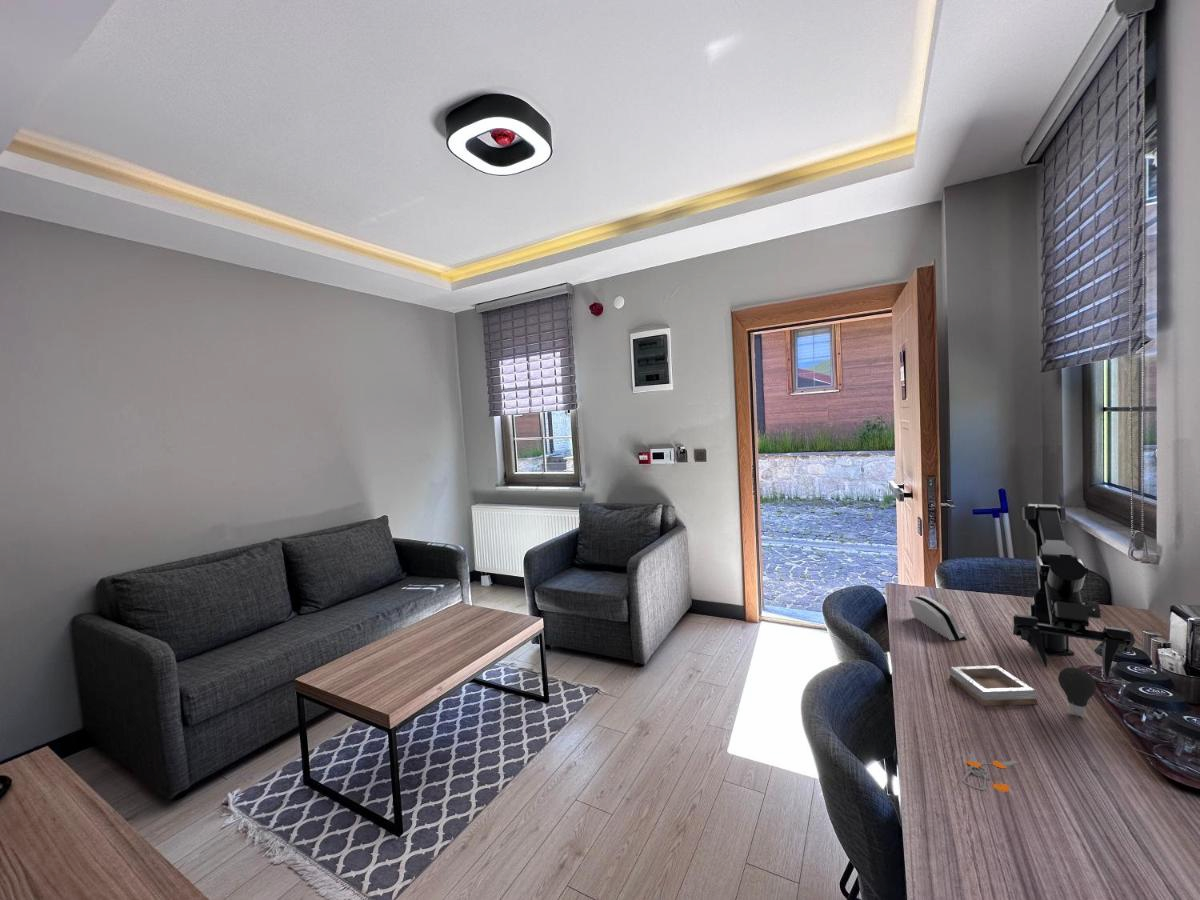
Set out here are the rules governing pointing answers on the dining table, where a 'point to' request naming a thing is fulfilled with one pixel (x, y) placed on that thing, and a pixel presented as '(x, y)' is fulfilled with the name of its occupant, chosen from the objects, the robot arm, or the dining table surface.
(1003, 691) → the socket collar
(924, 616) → the white arched casing
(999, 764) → the key chain
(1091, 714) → the dining table surface
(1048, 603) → the robot arm
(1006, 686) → the socket board
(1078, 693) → the light bulb
